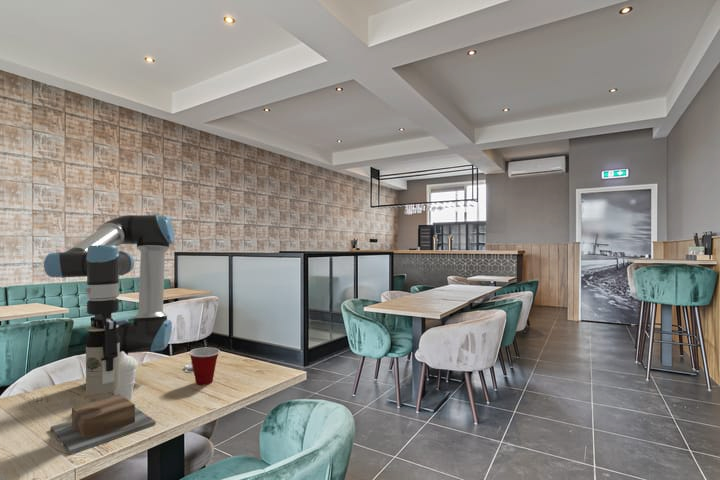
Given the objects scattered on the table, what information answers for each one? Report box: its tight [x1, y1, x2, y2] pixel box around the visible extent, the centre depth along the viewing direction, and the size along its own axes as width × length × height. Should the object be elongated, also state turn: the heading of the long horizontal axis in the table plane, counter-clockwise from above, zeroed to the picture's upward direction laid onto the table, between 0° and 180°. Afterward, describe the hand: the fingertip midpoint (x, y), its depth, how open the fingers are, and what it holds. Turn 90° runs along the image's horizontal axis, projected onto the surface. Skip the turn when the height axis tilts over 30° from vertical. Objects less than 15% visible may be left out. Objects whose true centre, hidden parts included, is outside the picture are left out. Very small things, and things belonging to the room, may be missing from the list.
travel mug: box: [85, 325, 120, 396], centre depth 108 cm, size 8×8×18 cm
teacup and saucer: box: [183, 360, 193, 374], centre depth 158 cm, size 9×8×4 cm
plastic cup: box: [189, 347, 221, 386], centre depth 142 cm, size 11×11×12 cm
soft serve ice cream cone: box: [113, 351, 139, 401], centre depth 128 cm, size 8×8×16 cm
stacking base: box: [49, 394, 157, 455], centre depth 107 cm, size 20×20×6 cm
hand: (103, 378), depth 108 cm, fingers closed on travel mug, 8 cm apart
